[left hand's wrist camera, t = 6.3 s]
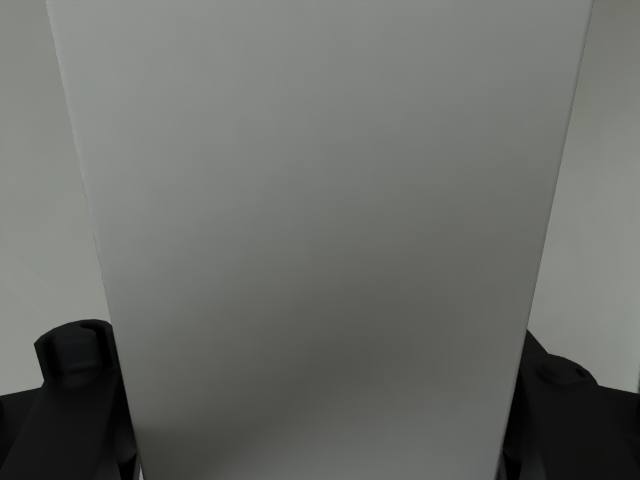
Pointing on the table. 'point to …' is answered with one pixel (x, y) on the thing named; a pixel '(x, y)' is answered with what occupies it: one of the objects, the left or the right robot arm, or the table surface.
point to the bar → (319, 222)
